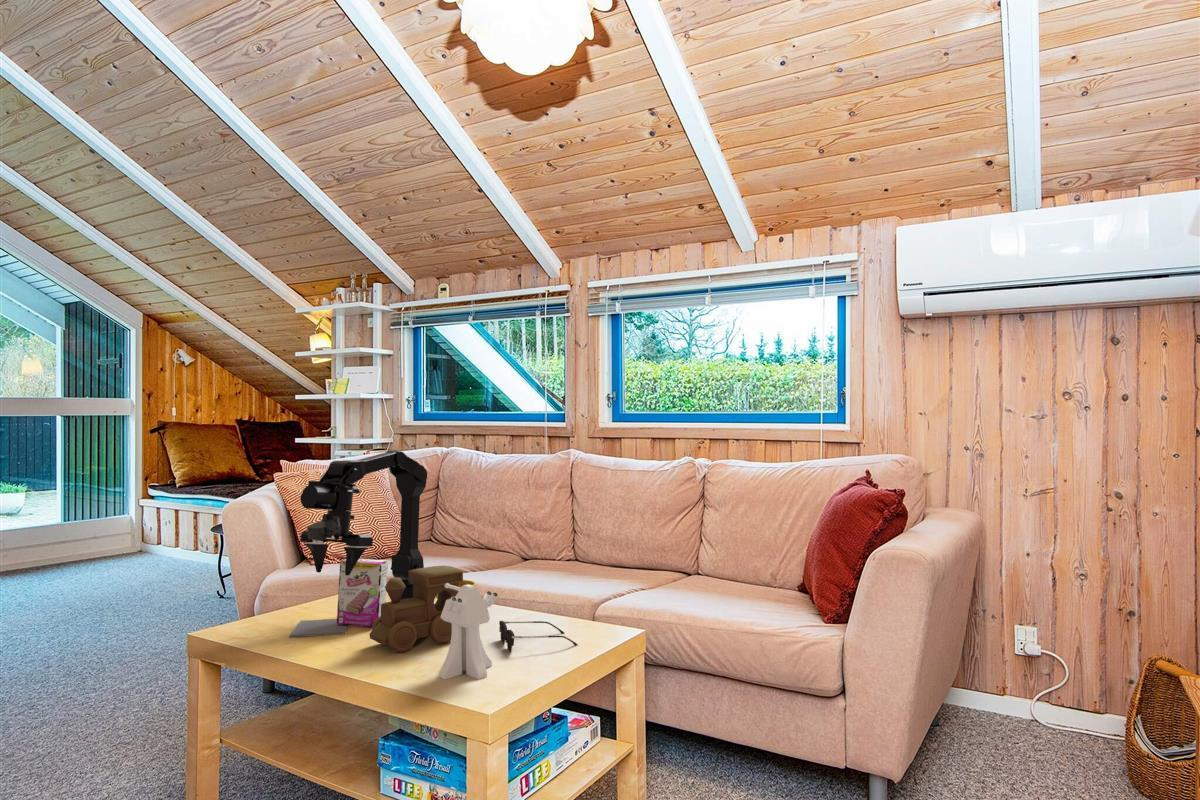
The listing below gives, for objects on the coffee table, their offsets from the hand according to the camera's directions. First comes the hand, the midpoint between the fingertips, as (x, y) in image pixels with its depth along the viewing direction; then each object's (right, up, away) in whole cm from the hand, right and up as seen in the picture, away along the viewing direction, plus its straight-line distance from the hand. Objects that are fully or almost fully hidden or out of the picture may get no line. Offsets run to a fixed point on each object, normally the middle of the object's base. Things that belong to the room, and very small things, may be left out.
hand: (332, 573), depth 199 cm
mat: (-4, -15, +4) cm, 16 cm away
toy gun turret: (+38, -14, -31) cm, 51 cm away
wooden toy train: (+23, -14, -11) cm, 29 cm away
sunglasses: (+52, -14, -12) cm, 55 cm away
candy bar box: (+5, -14, +6) cm, 16 cm away
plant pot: (+29, -14, +9) cm, 34 cm away
